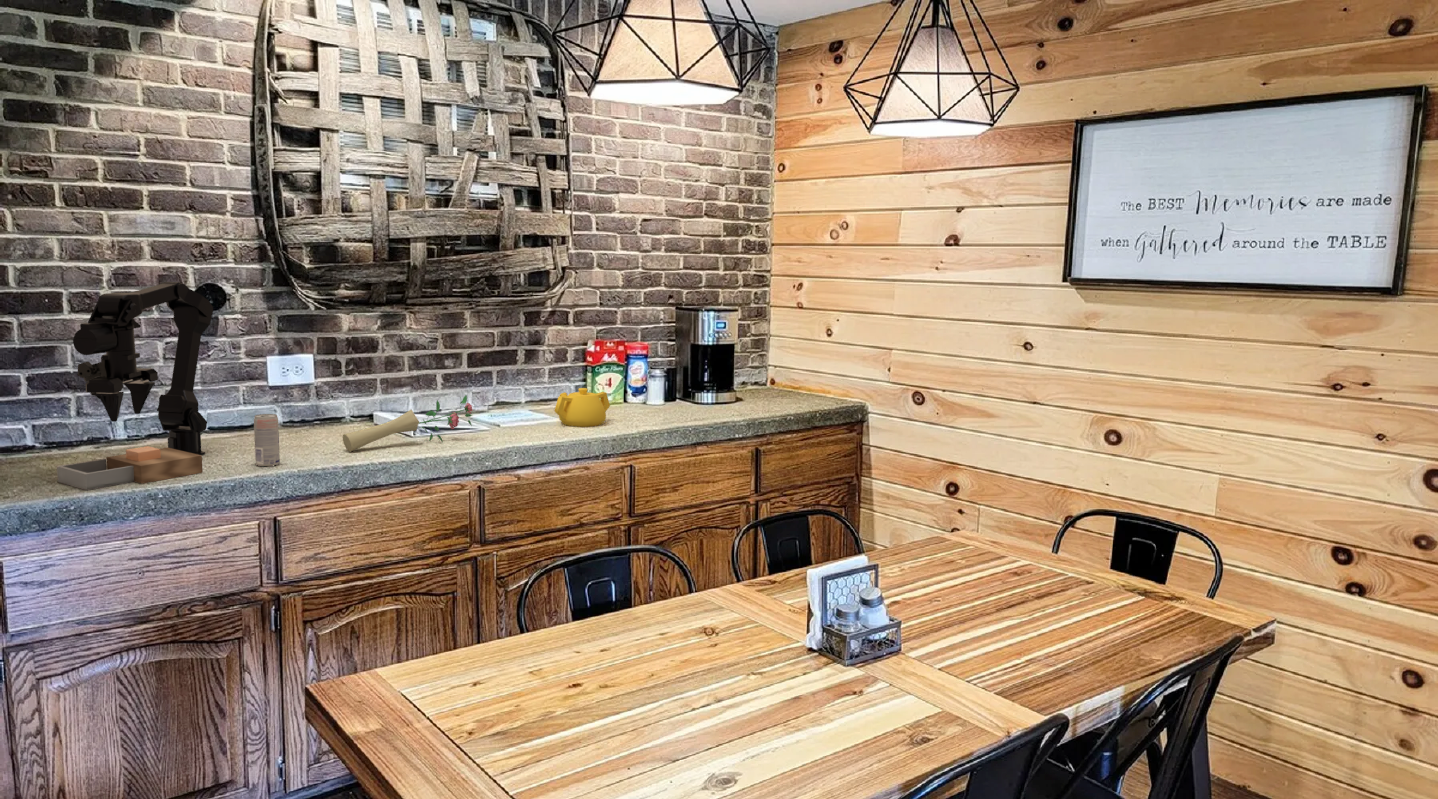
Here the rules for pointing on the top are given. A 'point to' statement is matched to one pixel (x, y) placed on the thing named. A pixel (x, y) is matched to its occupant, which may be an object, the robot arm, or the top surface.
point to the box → (93, 474)
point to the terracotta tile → (143, 453)
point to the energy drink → (266, 440)
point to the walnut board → (160, 465)
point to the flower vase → (400, 427)
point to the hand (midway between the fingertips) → (125, 417)
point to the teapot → (582, 408)
